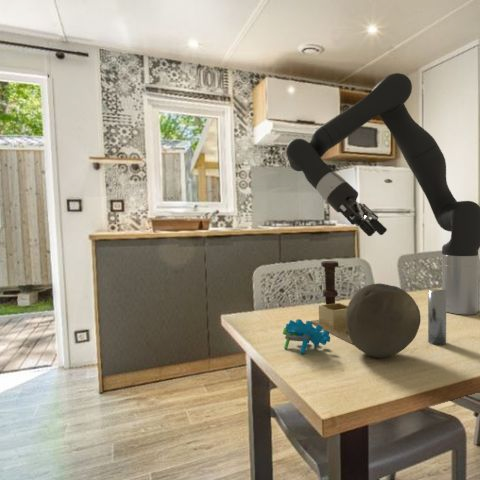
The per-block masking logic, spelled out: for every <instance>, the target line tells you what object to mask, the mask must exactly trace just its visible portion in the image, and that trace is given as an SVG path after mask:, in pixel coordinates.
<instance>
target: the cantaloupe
mask: <svg viewBox="0 0 480 480" xmlns="http://www.w3.org/2000/svg"><path fill="white" fill-rule="evenodd" d="M347 306H348V307H347V312H346V325H347V329H348V333H349V337H350V339H351V341H352V343H353V344H352V345H354V347H356V348H357V350H360V351H361V352H363V353H364V354H365V355H367V356H370V357H372V358H377V359H379V358H380V359H381V358H387V357H391V356H392V357H393V356H395V355H396V354H399V353H400V352H402V351H404V350H405V349H406V348H407V347H408V346H409V345H410V344H411V343H412V342H413V341H414V340H415V338H416V336H417V334H418V331H419V329H420V325H421V311H420V309H419V306H418V305H417V303H416V301H415V300H414V298H413V297H412V296H411V294H409V293H408V292H406V291H405V290H404V289H402V288H401V287H398V286H395V285H390V284H385V283H379V282H378V283H371V284H369V285H366V286H363V287H362V288H359V290H358V291H357V292H355V294H354V295H353V296H352V298H350V301H349V302H348V304H347Z"/></svg>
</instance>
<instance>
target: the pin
mask: <svg viewBox="0 0 480 480" xmlns="http://www.w3.org/2000/svg"><path fill="white" fill-rule="evenodd" d="M427 299H428V300H427V301H428V302H427V305H428V306H427V320H428V321H427V327H428V328H427V334H428V335H427V343H429V344H431V345H435V346H446V345H447V312H446V291H445V290H442V289H437V288H432V289H428V290H427Z"/></svg>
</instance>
